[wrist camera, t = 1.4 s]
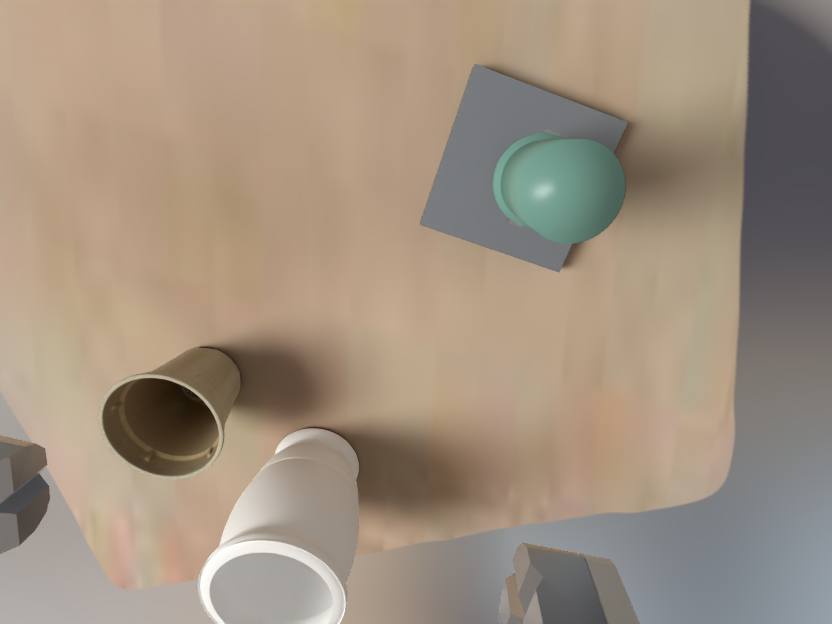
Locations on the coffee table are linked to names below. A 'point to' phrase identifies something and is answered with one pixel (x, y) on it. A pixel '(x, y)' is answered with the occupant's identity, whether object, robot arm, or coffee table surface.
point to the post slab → (480, 150)
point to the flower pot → (171, 414)
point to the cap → (559, 186)
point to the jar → (289, 538)
